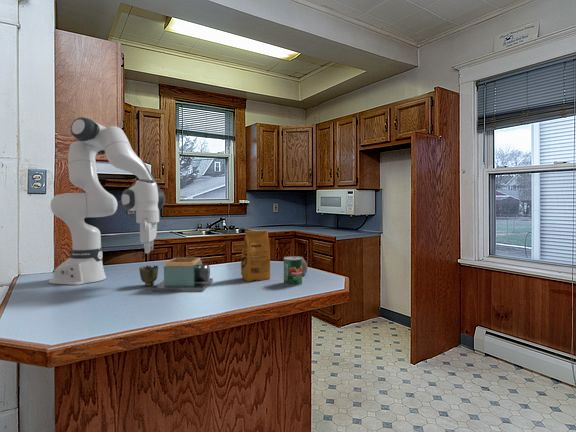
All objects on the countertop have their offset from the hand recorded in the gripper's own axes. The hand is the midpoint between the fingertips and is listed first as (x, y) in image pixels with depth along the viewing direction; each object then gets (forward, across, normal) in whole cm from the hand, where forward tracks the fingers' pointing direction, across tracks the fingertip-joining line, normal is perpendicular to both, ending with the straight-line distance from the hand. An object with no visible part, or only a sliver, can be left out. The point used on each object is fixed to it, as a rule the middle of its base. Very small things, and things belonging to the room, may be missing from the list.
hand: (149, 251), depth 148 cm
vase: (+15, +3, -66) cm, 67 cm away
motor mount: (+15, -4, -14) cm, 20 cm away
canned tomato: (+16, -11, -58) cm, 61 cm away
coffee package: (+15, +2, -44) cm, 47 cm away
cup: (+15, +1, 0) cm, 15 cm away
